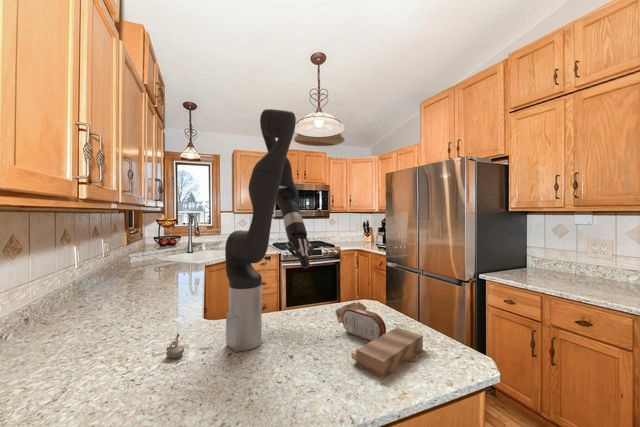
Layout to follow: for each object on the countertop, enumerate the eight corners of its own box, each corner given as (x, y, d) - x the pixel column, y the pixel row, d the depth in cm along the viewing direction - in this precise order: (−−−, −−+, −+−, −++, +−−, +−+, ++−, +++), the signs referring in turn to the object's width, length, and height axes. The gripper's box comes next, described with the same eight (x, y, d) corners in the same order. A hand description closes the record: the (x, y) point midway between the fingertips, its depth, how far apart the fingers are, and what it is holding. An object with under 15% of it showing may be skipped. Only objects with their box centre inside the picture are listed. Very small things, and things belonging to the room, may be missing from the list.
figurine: (184, 358, 73) (184, 334, 73) (165, 362, 71) (164, 338, 72) (184, 352, 77) (184, 330, 78) (166, 356, 75) (166, 333, 76)
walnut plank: (383, 379, 64) (383, 361, 64) (351, 363, 71) (351, 347, 71) (422, 349, 78) (422, 335, 78) (392, 338, 85) (392, 325, 85)
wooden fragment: (354, 326, 95) (354, 322, 95) (325, 320, 100) (325, 317, 100) (372, 304, 119) (372, 301, 119) (348, 301, 123) (348, 298, 123)
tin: (386, 343, 82) (386, 314, 82) (381, 347, 80) (381, 317, 80) (346, 328, 92) (346, 303, 92) (340, 331, 90) (340, 305, 90)
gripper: (286, 218, 100) (297, 261, 91) (313, 223, 109) (326, 263, 100) (275, 229, 105) (285, 271, 96) (302, 233, 113) (314, 272, 104)
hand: (306, 267), depth 98 cm, fingers closed
